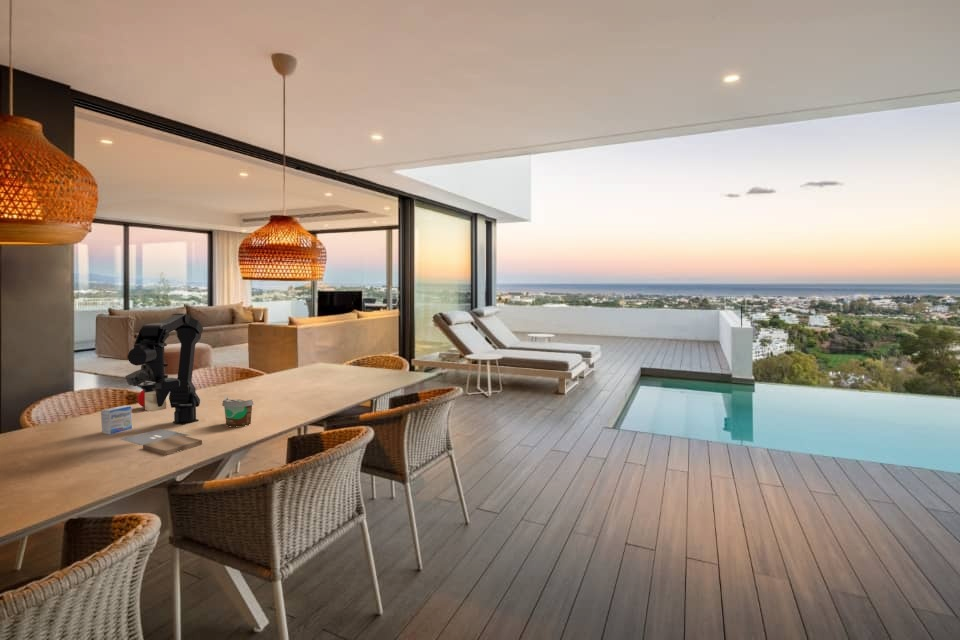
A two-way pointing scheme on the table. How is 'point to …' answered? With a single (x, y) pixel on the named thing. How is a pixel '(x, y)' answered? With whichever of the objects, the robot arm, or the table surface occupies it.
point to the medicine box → (116, 419)
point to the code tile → (151, 436)
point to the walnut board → (172, 444)
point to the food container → (237, 412)
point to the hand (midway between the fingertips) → (155, 405)
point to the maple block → (153, 402)
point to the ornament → (141, 398)
